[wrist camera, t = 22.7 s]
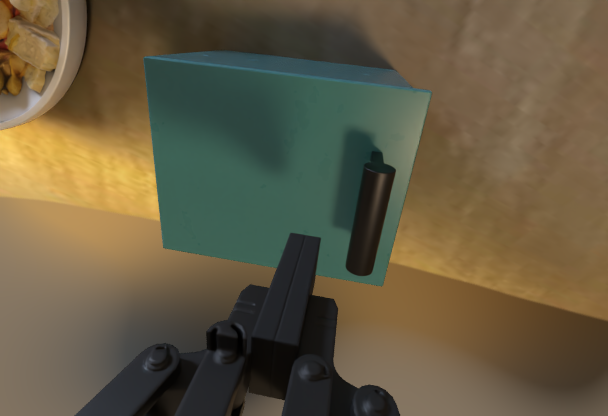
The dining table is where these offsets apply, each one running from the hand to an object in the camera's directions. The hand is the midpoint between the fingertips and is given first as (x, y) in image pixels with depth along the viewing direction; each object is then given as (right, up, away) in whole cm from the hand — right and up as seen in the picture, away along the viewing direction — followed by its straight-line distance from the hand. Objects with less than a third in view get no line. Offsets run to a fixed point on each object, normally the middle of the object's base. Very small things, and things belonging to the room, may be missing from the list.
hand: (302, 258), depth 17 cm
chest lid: (-2, +5, +8) cm, 10 cm away
